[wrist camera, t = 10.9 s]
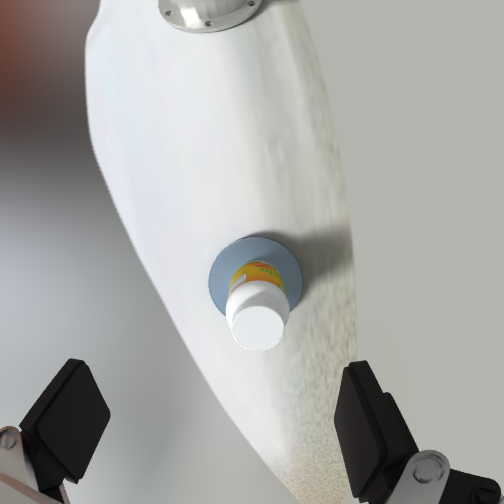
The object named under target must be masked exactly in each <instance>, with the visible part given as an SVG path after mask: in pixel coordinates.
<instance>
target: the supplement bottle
mask: <svg viewBox="0 0 504 504" xmlns="http://www.w3.org/2000/svg"><path fill="white" fill-rule="evenodd" d="M289 313H290V309H289V303H288V299H287V296H286V292H285V288H284V284H283V280H282V277H281V275H280V273H279V271H278V270H277V269H276V268H275V267H274V266H273V265H271V264H269V263H267V262H264V261H259V260H256V261H250V262H247V263H245V264H243V265H242V266H240V267H239V268H238V269H237V270H236V272H235V273H234V275H233V277H232V281H231V285H230V289H229V294H228V299H227V303H226V318H227V321H228V323H229V325H230V327H231V329H232V334H233V337H234V339H235V340H236V342H237V343H238V344H239V345H240V346H242V347H244V348H245V349H248V350H251V351H264V350H268V349H270V348H272V347H274V346H275V345H277V344H278V343H279V342H280V340H281V339H282V337H283V335H284V331H285V325H286V324H287V321H288V318H289Z"/></svg>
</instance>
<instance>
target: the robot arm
mask: <svg viewBox="0 0 504 504" xmlns="http://www.w3.org/2000/svg"><path fill="white" fill-rule="evenodd" d="M261 3H262V0H158V8H159V11H160V14H161V15H162V17H163V18H164V20H165V21H166V22H167V23H168V24H170V25H171V26H173V27H174V28H177V29H180V30H182V31H187V32H194V33H206V32H215V31H220V30H224V29H227V28H230V27H233V26H235V25H237V24H240V23H242V22H243V21H245V20H246V19H248V18H249V17H251V16H252V15H253V14H254V13H255V12H256V11H257V9H258V8H259V7H260V5H261ZM208 26H209V27H208ZM109 420H110V410H109V408H108V407H107V404H106V403H105V401H104V399H103V397H102V395H101V393H100V390H99V388H98V386H97V384H96V382H95V380H94V378H93V375H92V373H91V371H90V369H89V367H88V365H86V363H85V362H84V361H83V360H78V359H72V358H71V359H69V360H68V361H67V362H66V363H65V365H64V366H63V367H62V368H61V370H60V371H59V372H58V373H57V375H56V376H55V377H54V379H53V380H52V381H51V382H50V384H49V385H48V386H47V388H46V389H45V390H44V391H43V393H42V394H41V395H40V397H39V398H38V400H37V401H36V402H35V404H34V405H33V406H32V408H31V409H30V410H29V412H28V413H27V415H26V416H25V417H24V419H23V420H22V422H21V423H20V425H19V427H20V428H21V429H22V431H21V432H20V431H19V430H18V429H17V428H15V427H12V426H6V427H3V428H1V429H0V504H70V501H69V499H68V496H67V493H66V490H65V487H64V484H63V480H64V478H65V479H66V480H67V481H70V482H72V483H75V484H77V483H78V481H79V479H82V478H83V476H84V474H85V471H86V469H87V467H88V465H89V462H90V460H91V458H92V455H93V454H94V451H95V449H96V447H97V445H98V443H99V441H100V438H101V436H102V434H103V432H104V430H105V428H106V426H107V424H108V422H109ZM334 424H335V428H336V432H337V436H338V439H339V443H340V447H341V451H342V455H343V459H344V463H345V467H346V471H347V475H348V479H349V483H350V486H351V491H352V495H353V497H354V498H359V502H360V503H363V502H368V503H369V504H504V496H503V495H501V489H500V486H499V484H498V483H497V482H496V481H495V480H492V479H489V478H485V477H480V476H476V475H472V474H468V473H464V472H461V471H457V470H453V469H450V464H449V461H448V459H447V458H446V456H444V455H443V454H442V453H440V452H438V451H435V450H425V451H421V452H419V449H418V447H417V445H416V443H415V441H414V439H413V437H412V435H411V433H410V430H409V429H408V426H407V424H406V422H405V420H404V418H403V417H402V414H401V412H400V411H399V408H398V407H397V404H396V403H395V400H394V399H393V397H392V395H391V394H390V393H388V392H386V393H383V392H382V389H381V387H380V386H379V384H378V381H377V379H376V377H375V375H374V373H373V372H372V370H371V368H370V366H369V364H368V362H367V361H366V360H364V361H357V362H351V363H349V366H348V367H345V368H344V370H343V376H342V381H341V386H340V391H339V396H338V401H337V405H336V410H335V414H334Z"/></svg>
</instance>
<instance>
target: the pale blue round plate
mask: <svg viewBox="0 0 504 504" xmlns="http://www.w3.org/2000/svg"><path fill="white" fill-rule="evenodd" d="M256 260H259V261H264V262H267V263H269V264H271V265H273V266H274V267H275V268H276V269H277V270H278V271H279V273H280V275H281V277H282V280H283V284H284V288H285V292H286V296H287V299H288V303H289V309H290V312H291V311H292V310H293V309H294V307H295V306H296V304H297V303H298V301H299V298H300V296H301V292H302V286H303V279H302V273H301V270H300V267H299V265H298V263H297V261H296V259H295V257H294V256H293V254H292V253H291V252H290V251H289V250H288V249H287V248H286V247H284V246H283V245H281V244H280V243H278V242H276V241H274V240H271V239H267V238H262V237H249V238H244V239H240V240H238V241H235V242H233V243H232V244H230V245H228V246H227V247H226V248H225V249H223V250H222V251H221V252H220V254H219V255H218V256H217V258H216V259H215V261H214V263H213V265H212V268H211V270H210V274H209V291H210V295H211V298H212V300H213V302H214V304H215V305H216V307H217V308H218V310H219V311H220V312H221V313H222V314H223V315H224V316H226V303H227V299H228V294H229V289H230V285H231V281H232V277H233V275H234V273H235V272H236V270H237V269H238V268H239V267H240V266H242V265H243V264H245V263H247V262H250V261H256Z"/></svg>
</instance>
